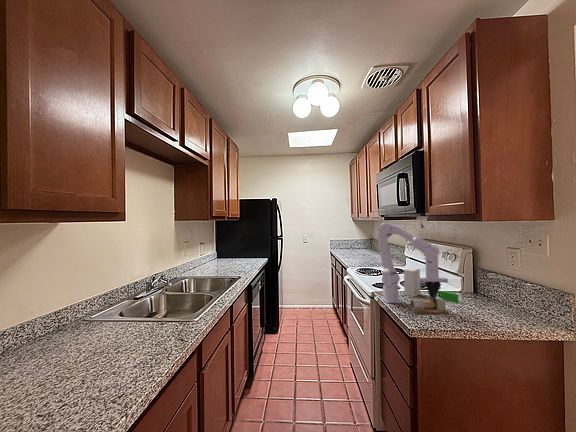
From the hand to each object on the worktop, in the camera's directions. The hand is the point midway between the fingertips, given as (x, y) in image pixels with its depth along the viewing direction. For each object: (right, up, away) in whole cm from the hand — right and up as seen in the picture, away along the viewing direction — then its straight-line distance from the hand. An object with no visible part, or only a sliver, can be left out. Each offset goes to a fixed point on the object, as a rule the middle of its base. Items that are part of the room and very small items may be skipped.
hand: (432, 296), depth 138 cm
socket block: (+3, -5, 0) cm, 6 cm away
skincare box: (+2, -7, +28) cm, 29 cm away
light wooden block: (-1, -5, 0) cm, 5 cm away
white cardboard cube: (-8, -6, 0) cm, 9 cm away
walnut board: (-3, -7, 0) cm, 7 cm away
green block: (+17, -7, +15) cm, 24 cm away
